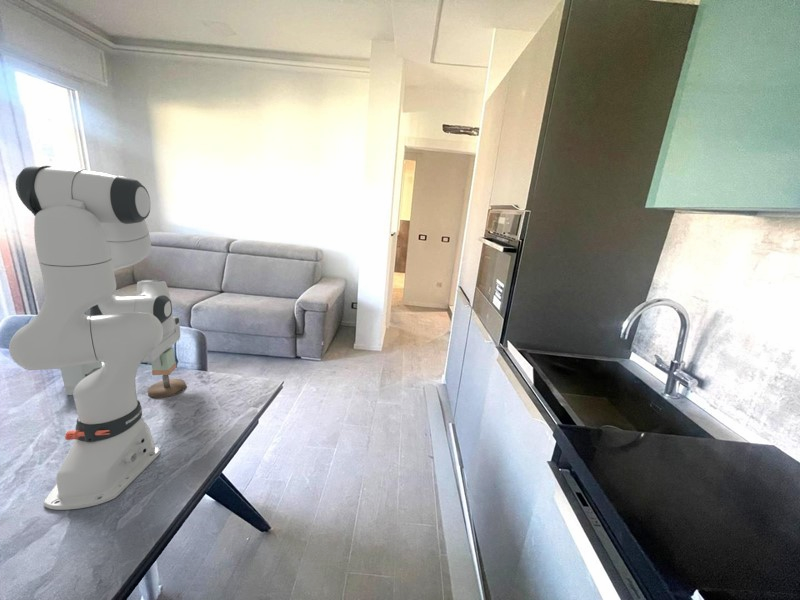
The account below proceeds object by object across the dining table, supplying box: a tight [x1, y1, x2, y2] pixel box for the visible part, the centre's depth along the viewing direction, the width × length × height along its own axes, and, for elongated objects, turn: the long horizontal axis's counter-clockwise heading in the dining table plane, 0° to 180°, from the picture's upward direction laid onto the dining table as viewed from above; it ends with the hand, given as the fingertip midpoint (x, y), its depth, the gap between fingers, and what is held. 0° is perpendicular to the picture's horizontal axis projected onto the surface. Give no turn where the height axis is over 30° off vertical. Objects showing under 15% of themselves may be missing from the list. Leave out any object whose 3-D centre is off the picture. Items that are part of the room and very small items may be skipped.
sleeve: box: [150, 347, 177, 376], centre depth 112 cm, size 5×5×8 cm
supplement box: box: [60, 362, 103, 396], centre depth 110 cm, size 7×7×13 cm
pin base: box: [147, 375, 186, 399], centre depth 114 cm, size 11×11×6 cm
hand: (163, 362), depth 112 cm, fingers closed on sleeve, 5 cm apart
